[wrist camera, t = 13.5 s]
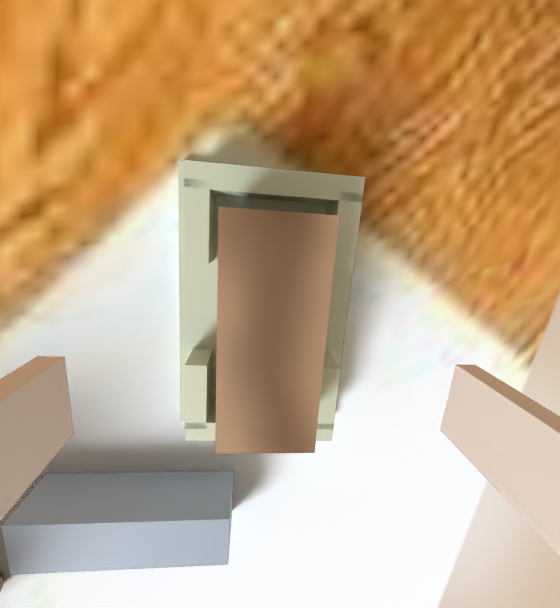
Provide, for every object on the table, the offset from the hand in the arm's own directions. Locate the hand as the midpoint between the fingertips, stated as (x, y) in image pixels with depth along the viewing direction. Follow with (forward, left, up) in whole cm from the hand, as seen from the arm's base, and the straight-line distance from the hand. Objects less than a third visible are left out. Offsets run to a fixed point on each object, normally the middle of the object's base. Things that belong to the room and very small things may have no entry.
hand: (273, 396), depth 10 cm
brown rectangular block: (0, -1, -13) cm, 13 cm away
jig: (0, 0, -14) cm, 14 cm away
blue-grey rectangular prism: (-10, -18, -14) cm, 25 cm away
